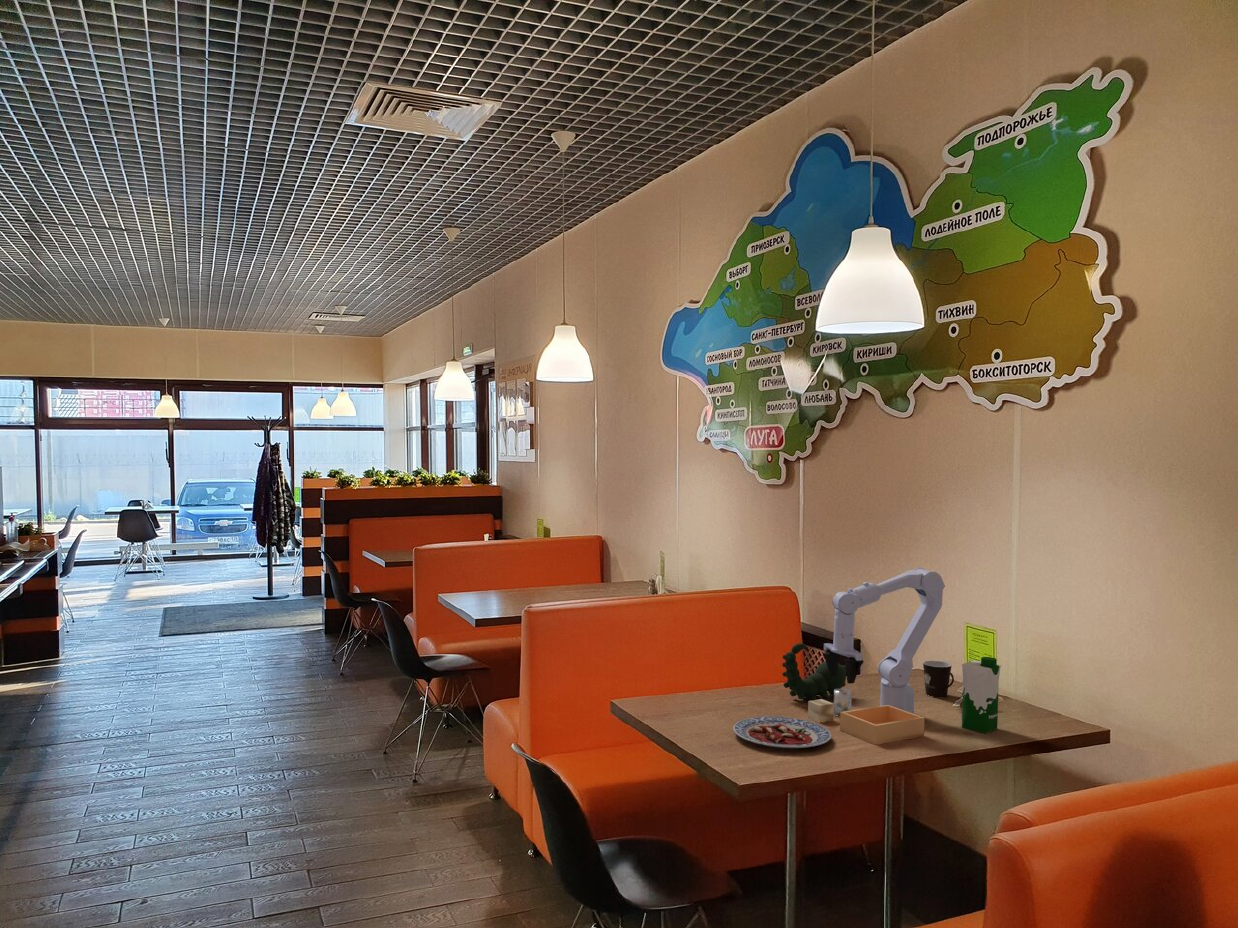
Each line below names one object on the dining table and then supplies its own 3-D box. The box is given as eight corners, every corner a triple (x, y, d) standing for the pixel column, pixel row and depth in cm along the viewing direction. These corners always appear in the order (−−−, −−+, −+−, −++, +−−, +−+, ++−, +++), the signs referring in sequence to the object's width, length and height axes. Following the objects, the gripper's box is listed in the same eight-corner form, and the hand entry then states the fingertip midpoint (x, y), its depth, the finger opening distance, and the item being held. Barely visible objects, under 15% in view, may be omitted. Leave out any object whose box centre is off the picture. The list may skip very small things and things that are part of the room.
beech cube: (821, 716, 263) (821, 699, 263) (833, 720, 259) (833, 703, 259) (807, 718, 261) (808, 700, 261) (819, 723, 256) (819, 705, 256)
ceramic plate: (756, 758, 226) (757, 746, 226) (718, 727, 251) (718, 716, 251) (849, 751, 233) (849, 739, 233) (803, 721, 258) (803, 711, 258)
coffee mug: (919, 690, 294) (920, 659, 293) (947, 692, 292) (948, 661, 292) (926, 700, 282) (927, 668, 282) (955, 702, 281) (956, 669, 281)
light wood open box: (887, 722, 258) (887, 704, 258) (923, 735, 246) (924, 717, 246) (839, 729, 250) (840, 711, 250) (875, 744, 238) (875, 725, 238)
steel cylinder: (842, 711, 268) (843, 687, 268) (854, 715, 264) (855, 691, 264) (829, 713, 266) (830, 689, 266) (841, 717, 261) (842, 693, 261)
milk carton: (988, 734, 248) (990, 662, 248) (956, 727, 255) (958, 656, 254) (1002, 728, 254) (1003, 657, 254) (970, 721, 261) (972, 651, 261)
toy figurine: (797, 711, 273) (860, 695, 284) (794, 649, 272) (858, 635, 283) (778, 703, 281) (840, 687, 293) (775, 643, 280) (837, 630, 292)
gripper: (816, 629, 269) (814, 674, 269) (850, 639, 256) (848, 687, 256) (834, 628, 272) (833, 673, 272) (869, 637, 259) (867, 684, 259)
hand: (841, 679), depth 264 cm, fingers open, 7 cm apart
